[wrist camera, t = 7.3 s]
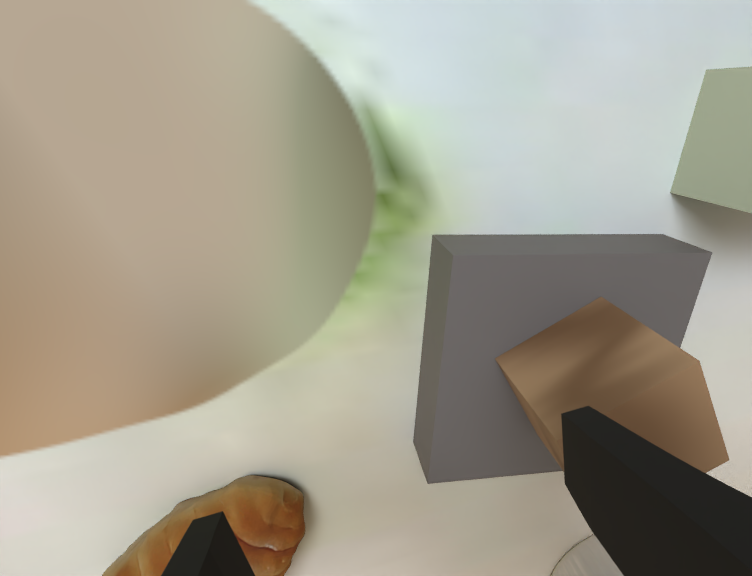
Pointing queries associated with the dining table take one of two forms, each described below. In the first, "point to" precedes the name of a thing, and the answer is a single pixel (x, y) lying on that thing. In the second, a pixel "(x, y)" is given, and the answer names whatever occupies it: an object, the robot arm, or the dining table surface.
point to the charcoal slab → (526, 332)
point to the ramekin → (587, 561)
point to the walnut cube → (615, 383)
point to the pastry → (246, 517)
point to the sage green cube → (719, 142)
